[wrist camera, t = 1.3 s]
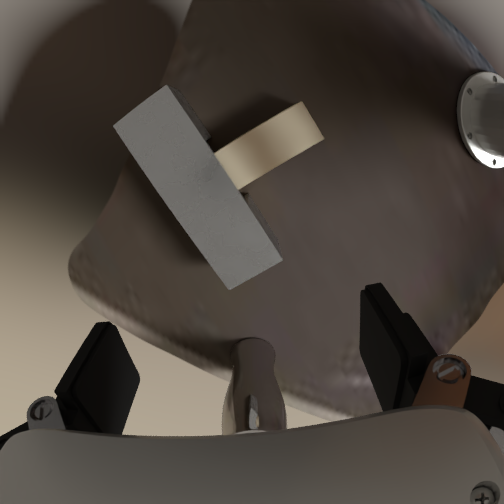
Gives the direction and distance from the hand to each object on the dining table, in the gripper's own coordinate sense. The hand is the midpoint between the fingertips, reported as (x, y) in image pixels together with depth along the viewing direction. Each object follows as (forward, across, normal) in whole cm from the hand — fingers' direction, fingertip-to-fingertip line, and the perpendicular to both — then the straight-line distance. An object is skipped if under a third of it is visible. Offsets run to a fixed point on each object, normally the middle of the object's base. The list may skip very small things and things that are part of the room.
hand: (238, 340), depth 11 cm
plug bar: (+24, -1, -4) cm, 24 cm away
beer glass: (+24, +3, +21) cm, 32 cm away
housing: (+24, +4, -2) cm, 24 cm away
